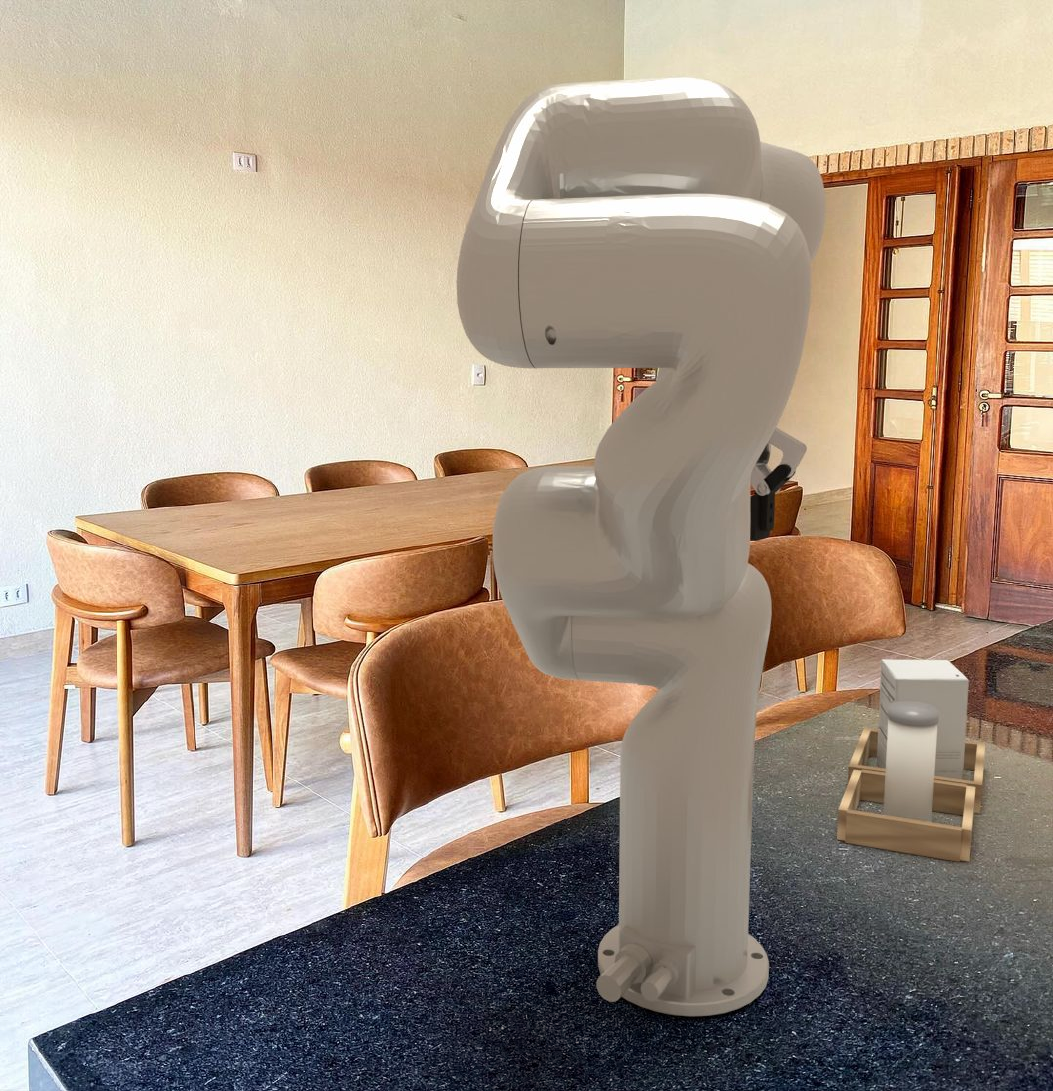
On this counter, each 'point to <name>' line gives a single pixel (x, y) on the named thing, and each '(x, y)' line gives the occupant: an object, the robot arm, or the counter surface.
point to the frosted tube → (910, 760)
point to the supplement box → (936, 688)
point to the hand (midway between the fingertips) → (708, 534)
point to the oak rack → (903, 831)
